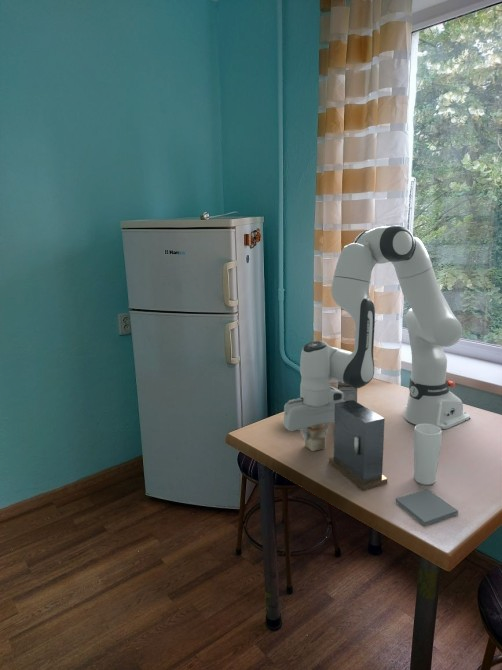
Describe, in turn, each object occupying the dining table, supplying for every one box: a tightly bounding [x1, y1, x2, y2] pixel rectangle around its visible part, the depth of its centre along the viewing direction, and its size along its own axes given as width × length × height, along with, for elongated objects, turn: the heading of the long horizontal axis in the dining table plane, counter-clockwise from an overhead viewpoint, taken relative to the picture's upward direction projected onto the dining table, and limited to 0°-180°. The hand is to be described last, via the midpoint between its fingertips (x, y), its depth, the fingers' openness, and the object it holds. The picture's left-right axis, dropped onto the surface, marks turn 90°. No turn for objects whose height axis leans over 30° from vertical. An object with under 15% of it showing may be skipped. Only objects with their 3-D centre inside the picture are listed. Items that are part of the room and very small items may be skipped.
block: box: [304, 424, 326, 452], centre depth 142 cm, size 5×5×8 cm
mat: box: [395, 488, 459, 526], centre depth 111 cm, size 10×10×1 cm
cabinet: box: [328, 400, 388, 492], centre depth 125 cm, size 8×16×18 cm, turn 23°
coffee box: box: [337, 381, 358, 403], centre depth 156 cm, size 9×6×16 cm
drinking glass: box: [413, 424, 443, 486], centre depth 121 cm, size 7×7×15 cm
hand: (314, 437), depth 142 cm, fingers closed on block, 4 cm apart
